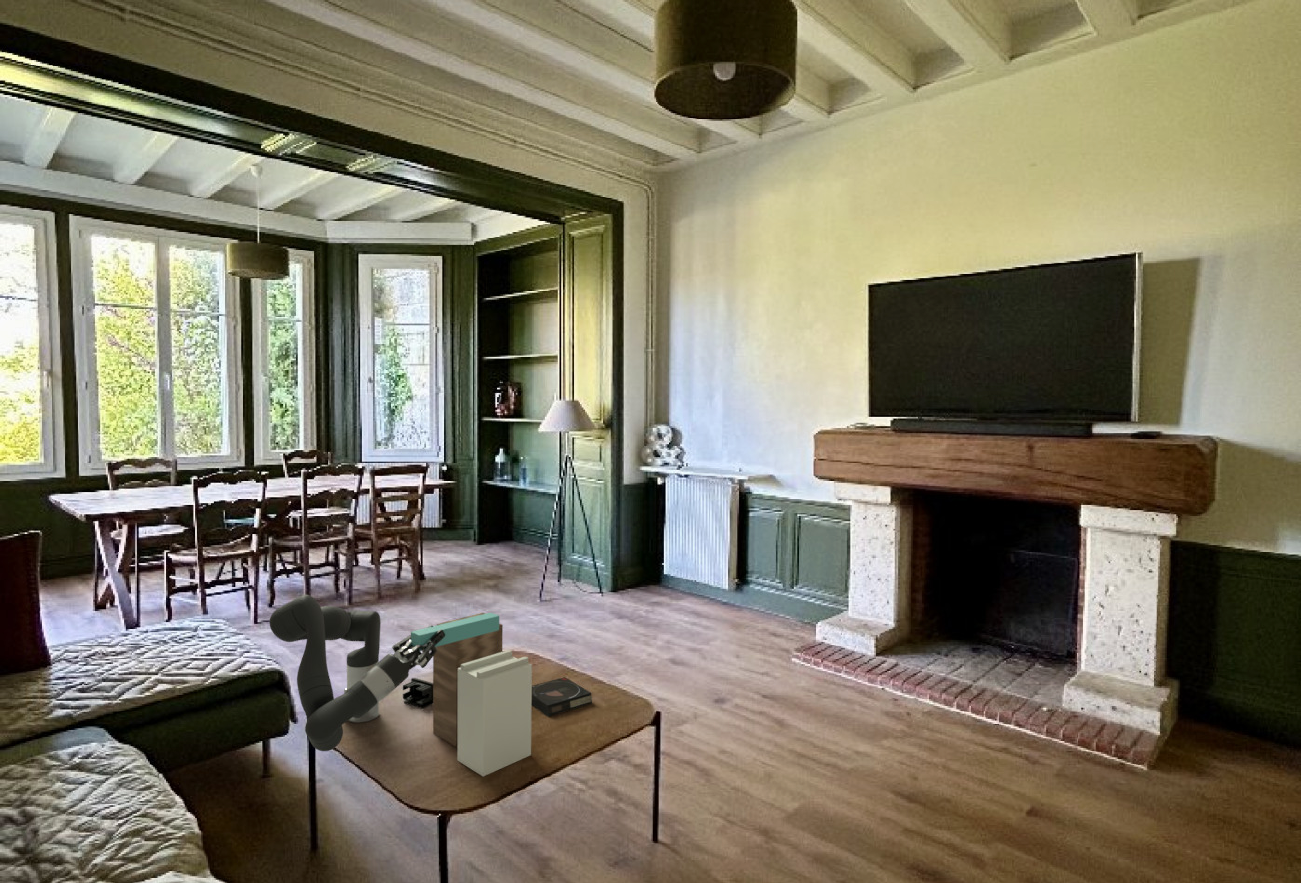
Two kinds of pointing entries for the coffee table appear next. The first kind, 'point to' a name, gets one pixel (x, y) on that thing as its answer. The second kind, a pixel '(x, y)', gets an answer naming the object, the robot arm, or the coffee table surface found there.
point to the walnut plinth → (456, 677)
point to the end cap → (418, 693)
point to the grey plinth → (494, 712)
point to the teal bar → (458, 629)
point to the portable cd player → (559, 696)
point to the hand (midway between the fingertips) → (438, 630)
